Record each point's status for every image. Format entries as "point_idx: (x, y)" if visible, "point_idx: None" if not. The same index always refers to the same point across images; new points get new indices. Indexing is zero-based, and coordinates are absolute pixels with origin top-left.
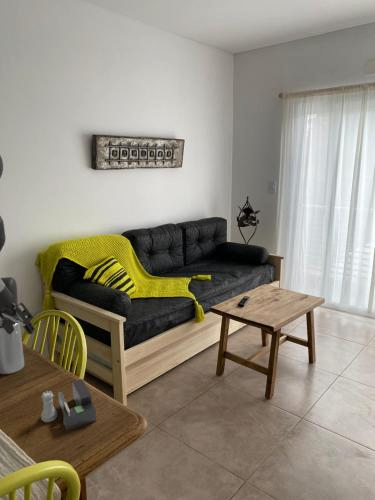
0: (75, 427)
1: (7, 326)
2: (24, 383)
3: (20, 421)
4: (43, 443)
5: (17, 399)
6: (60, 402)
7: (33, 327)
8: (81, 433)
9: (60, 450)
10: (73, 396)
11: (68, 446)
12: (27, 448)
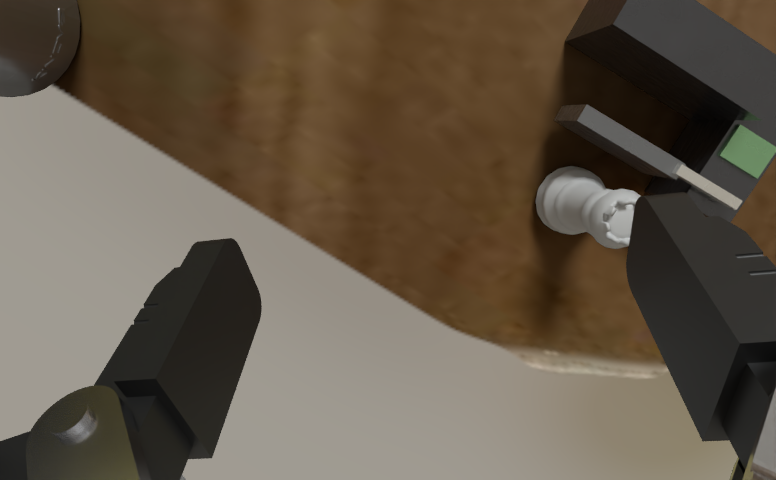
0: None
1: (216, 373)
2: (232, 82)
3: (476, 276)
4: None
5: (330, 191)
6: (595, 140)
7: (751, 249)
8: None
9: None
10: (573, 40)
11: None
12: (620, 348)
